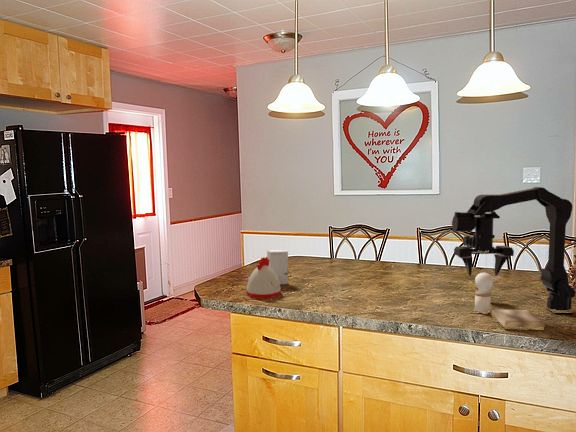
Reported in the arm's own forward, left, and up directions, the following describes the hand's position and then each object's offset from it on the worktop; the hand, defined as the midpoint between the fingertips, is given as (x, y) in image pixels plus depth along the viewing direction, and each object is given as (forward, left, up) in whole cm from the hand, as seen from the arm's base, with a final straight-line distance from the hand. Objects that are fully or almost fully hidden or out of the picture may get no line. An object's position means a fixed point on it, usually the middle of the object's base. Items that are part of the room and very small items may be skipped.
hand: (482, 275), depth 163 cm
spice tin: (0, 0, -13) cm, 13 cm away
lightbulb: (-5, -14, -13) cm, 20 cm away
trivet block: (-7, +12, -13) cm, 19 cm away
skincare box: (+76, -38, -13) cm, 86 cm away
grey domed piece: (+80, -21, -13) cm, 84 cm away
